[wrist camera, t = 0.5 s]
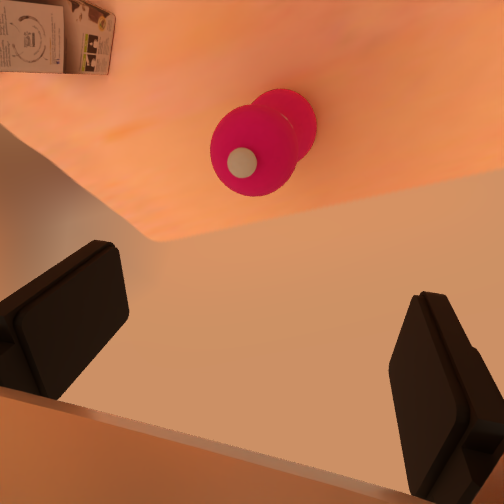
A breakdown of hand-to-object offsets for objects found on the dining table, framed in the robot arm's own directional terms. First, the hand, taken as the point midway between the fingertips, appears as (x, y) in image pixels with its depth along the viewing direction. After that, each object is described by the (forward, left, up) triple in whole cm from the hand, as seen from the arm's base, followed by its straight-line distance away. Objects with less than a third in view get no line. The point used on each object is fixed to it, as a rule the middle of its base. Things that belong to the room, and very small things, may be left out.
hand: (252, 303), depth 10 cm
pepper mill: (-1, -3, -30) cm, 30 cm away
